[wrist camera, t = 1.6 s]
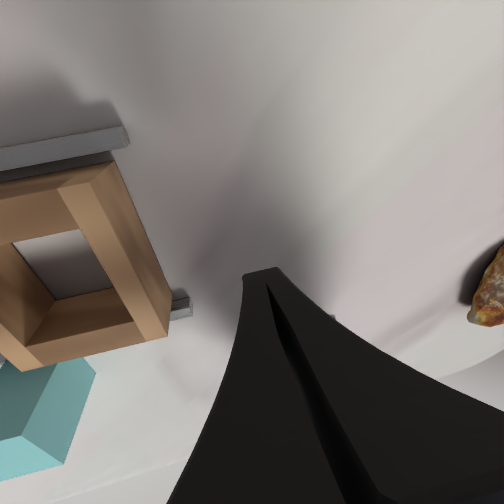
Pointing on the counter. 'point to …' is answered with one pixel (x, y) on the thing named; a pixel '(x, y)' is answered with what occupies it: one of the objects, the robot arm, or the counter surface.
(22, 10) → the counter surface
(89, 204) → the brown rectangular frame
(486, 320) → the decorative stone
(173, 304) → the backstop
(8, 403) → the aqua rectangular prism
